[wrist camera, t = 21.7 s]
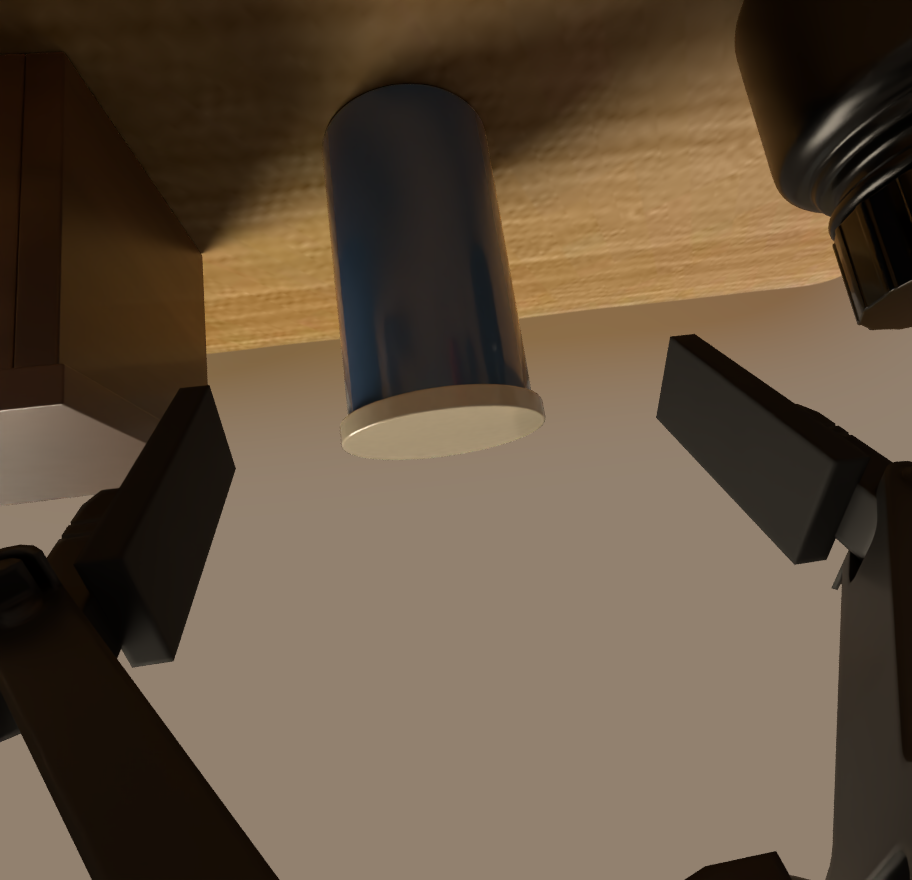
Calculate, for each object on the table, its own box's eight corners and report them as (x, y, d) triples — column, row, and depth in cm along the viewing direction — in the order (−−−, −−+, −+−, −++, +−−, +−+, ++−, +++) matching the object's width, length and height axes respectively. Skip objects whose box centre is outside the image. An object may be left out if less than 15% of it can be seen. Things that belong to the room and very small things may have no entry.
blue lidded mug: (336, 248, 31) (360, 478, 28) (295, 79, 20) (326, 422, 17) (476, 237, 31) (513, 459, 29) (507, 69, 21) (570, 395, 18)
